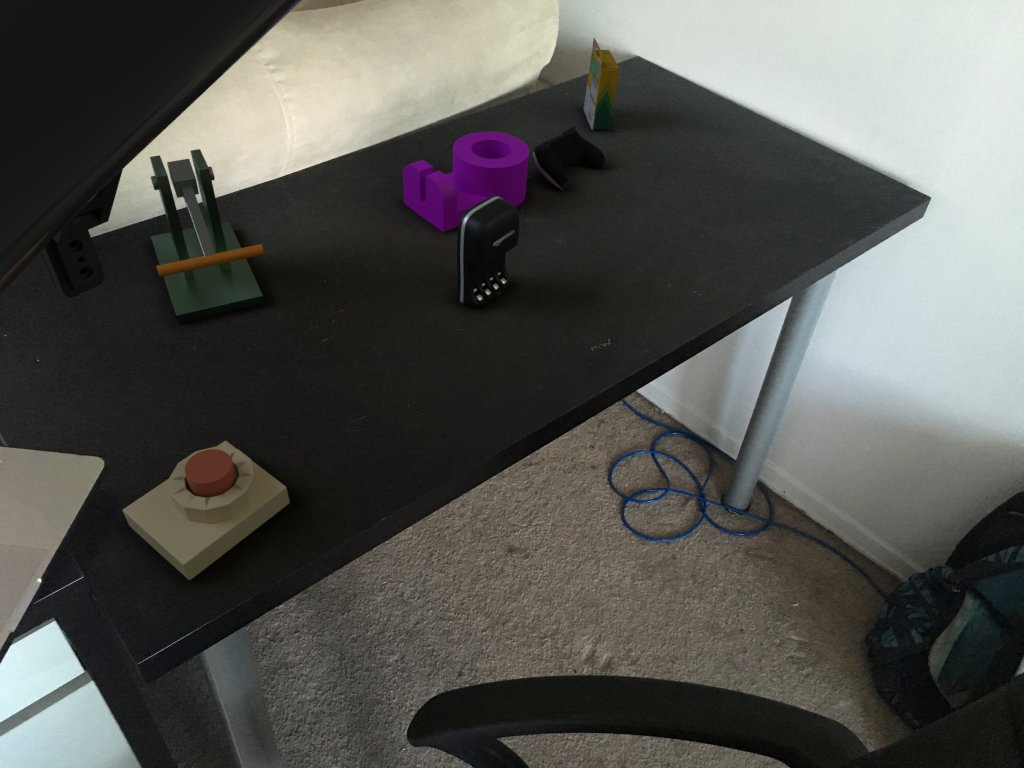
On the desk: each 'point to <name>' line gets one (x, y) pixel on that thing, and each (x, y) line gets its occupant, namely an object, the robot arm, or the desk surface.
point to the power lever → (199, 225)
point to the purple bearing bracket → (468, 178)
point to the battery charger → (485, 250)
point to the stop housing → (205, 513)
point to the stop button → (210, 472)
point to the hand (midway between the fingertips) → (78, 284)
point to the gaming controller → (565, 156)
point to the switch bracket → (201, 254)
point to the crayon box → (600, 88)
